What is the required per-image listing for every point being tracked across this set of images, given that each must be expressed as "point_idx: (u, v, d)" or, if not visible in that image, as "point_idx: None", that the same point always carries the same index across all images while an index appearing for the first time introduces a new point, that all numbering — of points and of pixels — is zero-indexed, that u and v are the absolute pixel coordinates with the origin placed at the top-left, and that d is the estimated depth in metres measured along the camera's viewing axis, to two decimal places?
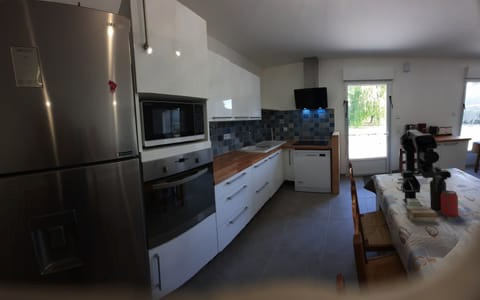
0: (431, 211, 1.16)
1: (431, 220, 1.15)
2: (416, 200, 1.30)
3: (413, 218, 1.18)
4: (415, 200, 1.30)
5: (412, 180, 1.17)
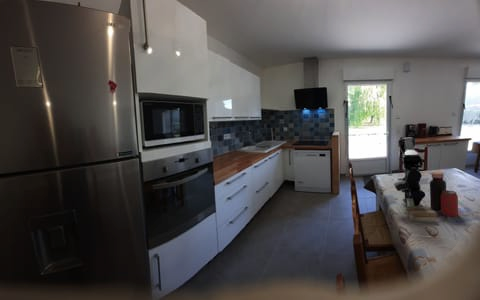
0: (431, 211, 1.16)
1: (431, 220, 1.15)
2: None
3: (413, 218, 1.18)
4: None
5: (405, 190, 1.37)
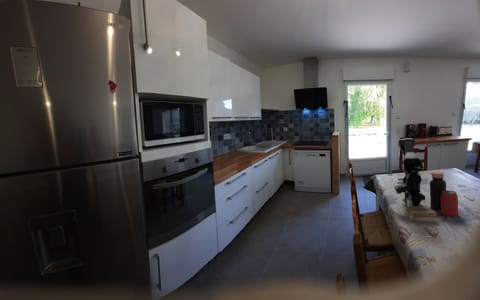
0: (431, 211, 1.16)
1: (431, 220, 1.15)
2: None
3: (413, 218, 1.18)
4: None
5: (406, 195, 1.35)
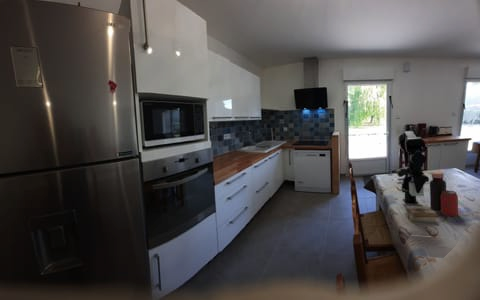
0: (431, 211, 1.16)
1: (431, 220, 1.15)
2: None
3: (413, 218, 1.18)
4: None
5: (408, 178, 1.28)
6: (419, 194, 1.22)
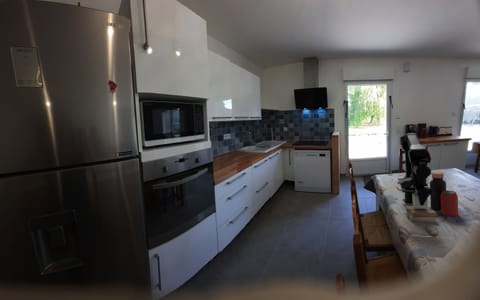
0: (431, 211, 1.16)
1: (431, 220, 1.15)
2: None
3: (413, 218, 1.18)
4: None
5: (412, 189, 1.24)
6: (423, 206, 1.17)
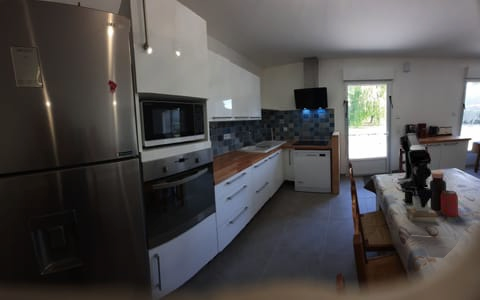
0: (431, 211, 1.16)
1: (431, 220, 1.15)
2: None
3: (413, 218, 1.18)
4: None
5: (411, 189, 1.25)
6: (423, 209, 1.18)
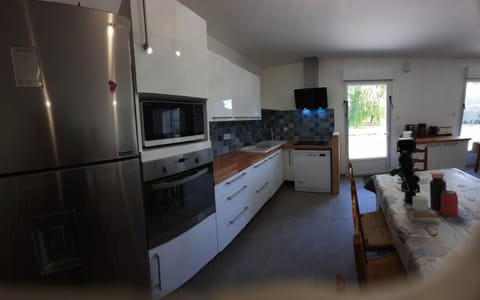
0: (431, 211, 1.16)
1: (431, 220, 1.15)
2: (423, 198, 1.18)
3: (413, 218, 1.18)
4: (422, 198, 1.19)
5: (399, 176, 1.33)
6: (423, 209, 1.18)
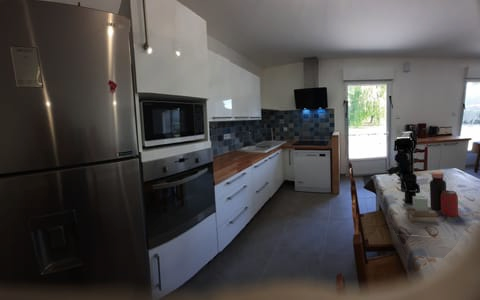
0: (431, 211, 1.16)
1: (431, 220, 1.15)
2: (423, 198, 1.18)
3: (413, 218, 1.18)
4: (422, 198, 1.19)
5: (397, 175, 1.35)
6: (423, 209, 1.18)
